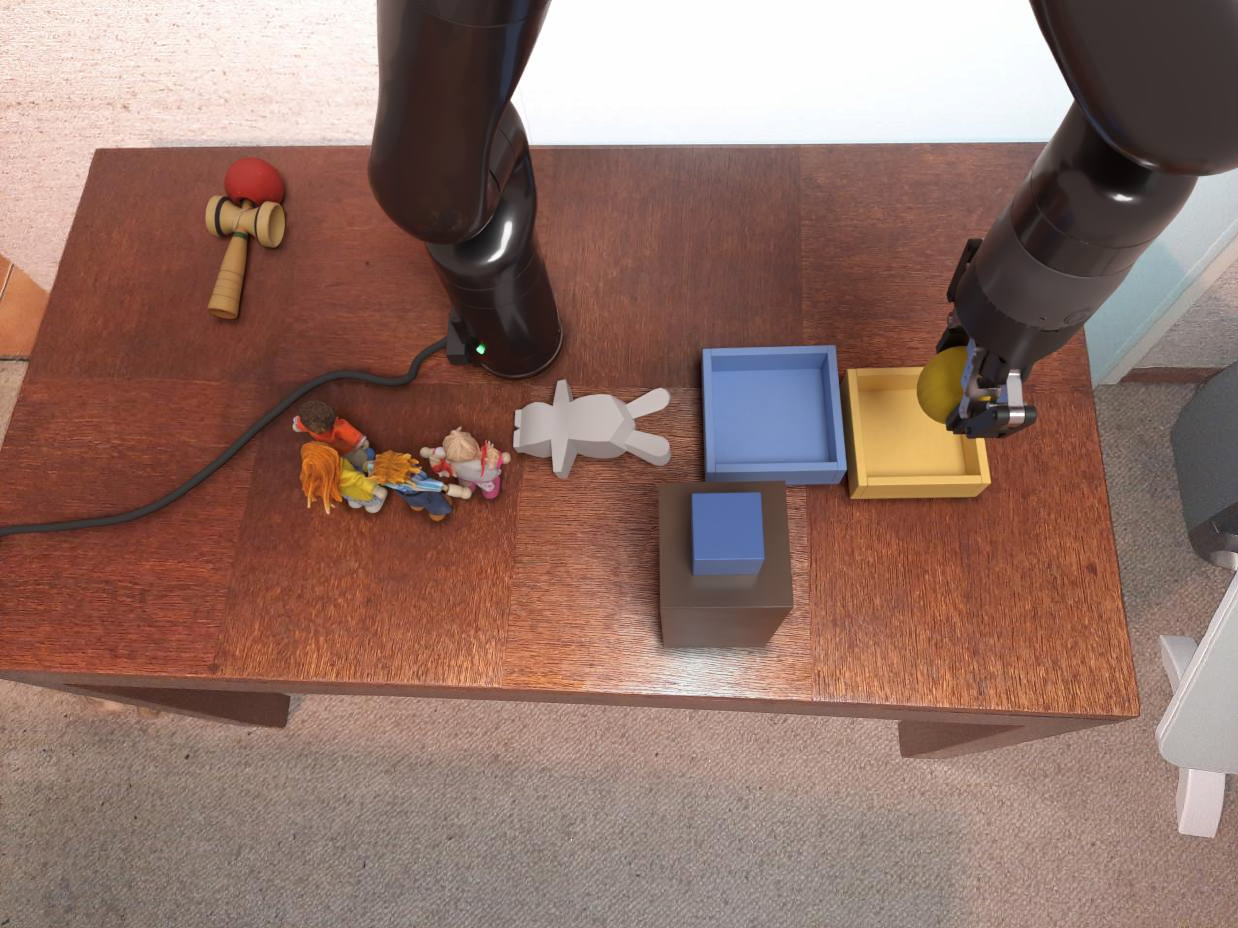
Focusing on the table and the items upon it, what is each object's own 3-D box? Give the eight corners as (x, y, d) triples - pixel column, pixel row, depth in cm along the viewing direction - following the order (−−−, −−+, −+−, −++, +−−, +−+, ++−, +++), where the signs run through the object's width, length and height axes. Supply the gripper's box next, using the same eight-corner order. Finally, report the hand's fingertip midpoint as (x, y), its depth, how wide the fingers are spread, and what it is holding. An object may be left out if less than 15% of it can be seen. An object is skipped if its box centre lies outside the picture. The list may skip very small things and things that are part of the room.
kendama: (276, 327, 92) (307, 175, 96) (236, 304, 86) (271, 142, 90) (216, 326, 94) (249, 177, 98) (173, 303, 88) (210, 146, 92)
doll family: (526, 473, 83) (500, 421, 71) (500, 567, 80) (469, 530, 68) (324, 434, 86) (265, 377, 74) (291, 523, 83) (224, 480, 71)
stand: (663, 647, 77) (660, 608, 58) (662, 550, 80) (658, 482, 61) (764, 647, 76) (793, 607, 57) (759, 549, 79) (785, 480, 61)
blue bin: (705, 486, 82) (706, 472, 78) (701, 367, 86) (702, 348, 82) (838, 484, 81) (847, 469, 77) (828, 364, 85) (835, 345, 81)
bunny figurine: (512, 376, 82) (666, 366, 80) (527, 398, 87) (673, 389, 85) (506, 469, 79) (666, 462, 77) (521, 486, 84) (673, 480, 81)
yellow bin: (850, 499, 80) (858, 485, 77) (839, 386, 84) (847, 368, 80) (976, 497, 80) (991, 483, 76) (959, 383, 84) (973, 365, 80)
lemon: (990, 405, 68) (1029, 360, 61) (948, 453, 67) (983, 413, 60) (933, 363, 70) (964, 314, 62) (891, 409, 69) (918, 365, 61)
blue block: (692, 575, 59) (693, 560, 54) (690, 512, 60) (691, 493, 56) (758, 574, 58) (764, 559, 54) (755, 511, 60) (761, 491, 56)
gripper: (962, 167, 52) (894, 308, 68) (995, 382, 47) (913, 479, 63) (1089, 163, 52) (991, 305, 67) (1135, 379, 47) (1018, 478, 63)
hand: (954, 389), depth 65 cm, fingers closed on lemon, 5 cm apart
